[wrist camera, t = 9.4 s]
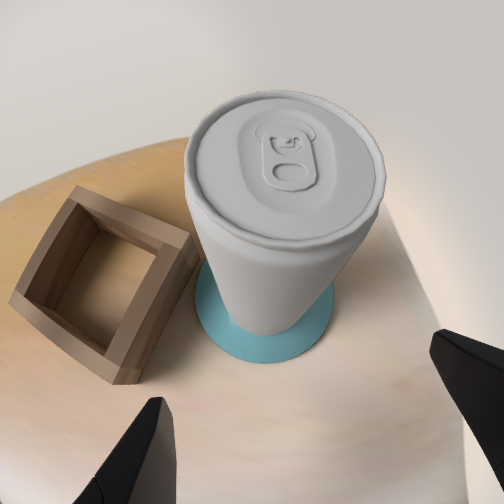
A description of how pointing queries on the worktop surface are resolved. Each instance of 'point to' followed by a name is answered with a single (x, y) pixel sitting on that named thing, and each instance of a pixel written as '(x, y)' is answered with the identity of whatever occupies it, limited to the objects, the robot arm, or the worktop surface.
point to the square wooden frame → (144, 302)
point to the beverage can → (280, 200)
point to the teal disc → (250, 344)
